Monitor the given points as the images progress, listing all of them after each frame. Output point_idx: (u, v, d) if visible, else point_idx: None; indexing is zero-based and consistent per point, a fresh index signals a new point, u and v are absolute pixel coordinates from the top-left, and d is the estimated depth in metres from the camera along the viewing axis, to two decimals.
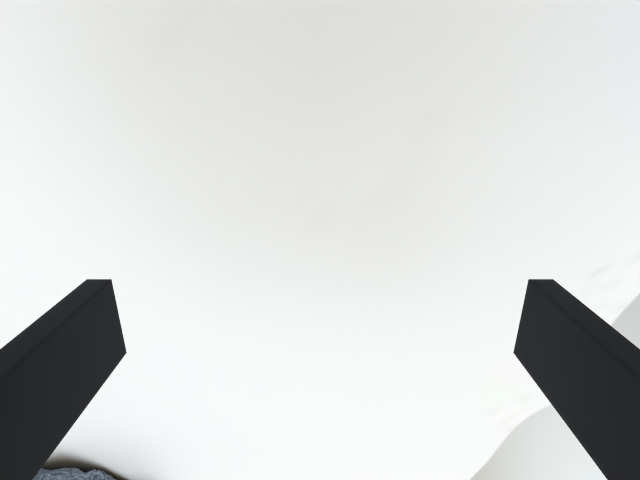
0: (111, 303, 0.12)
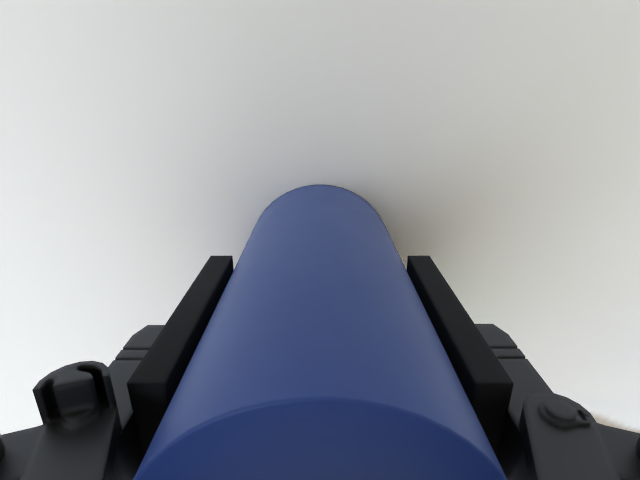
0: None
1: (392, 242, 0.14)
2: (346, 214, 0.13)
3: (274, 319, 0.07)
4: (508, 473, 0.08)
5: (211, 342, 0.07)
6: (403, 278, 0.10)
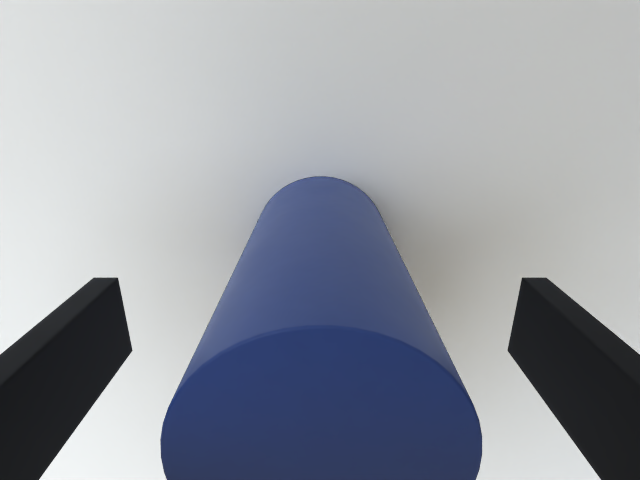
0: (117, 301, 0.12)
1: None
2: (344, 201, 0.14)
3: (283, 277, 0.09)
4: None
5: (230, 299, 0.09)
6: (393, 253, 0.12)
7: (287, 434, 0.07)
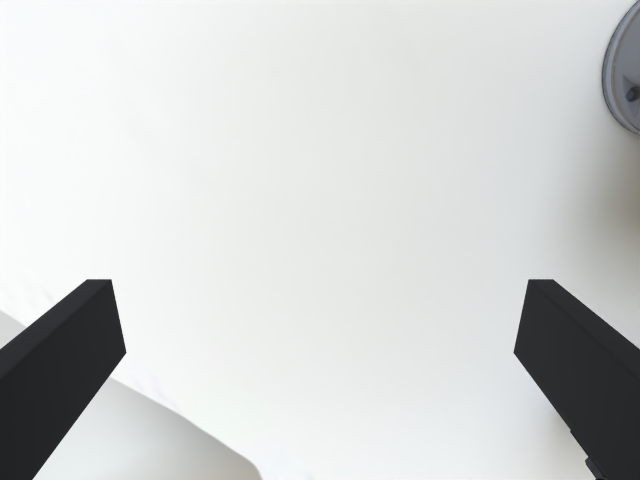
0: (111, 303, 0.12)
1: None
2: None
3: None
4: None
5: None
6: None
7: None
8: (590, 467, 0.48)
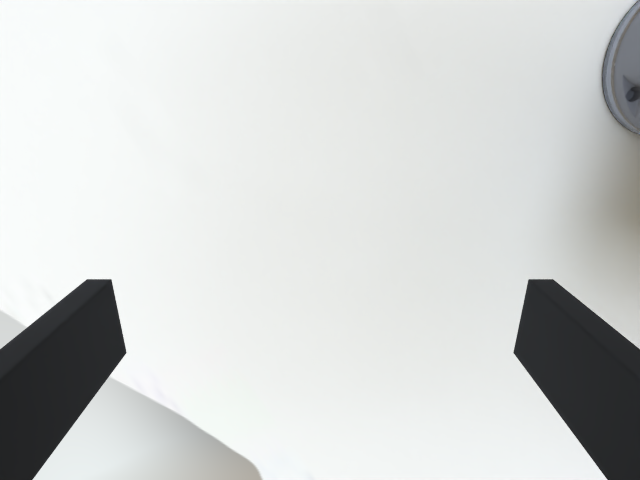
0: (111, 303, 0.12)
1: None
2: None
3: None
4: None
5: None
6: None
7: None
8: None
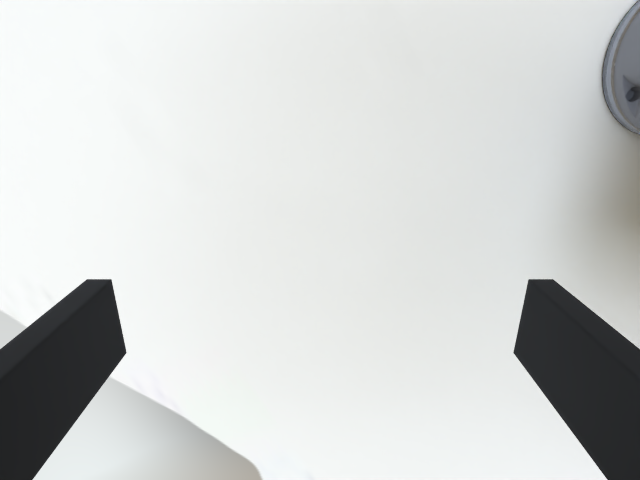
0: (111, 303, 0.12)
1: None
2: None
3: None
4: None
5: None
6: None
7: None
8: None
